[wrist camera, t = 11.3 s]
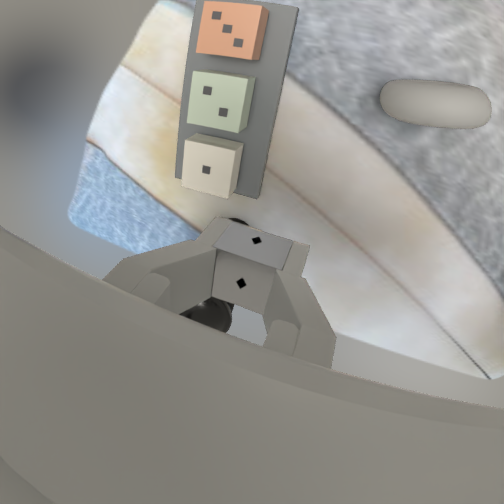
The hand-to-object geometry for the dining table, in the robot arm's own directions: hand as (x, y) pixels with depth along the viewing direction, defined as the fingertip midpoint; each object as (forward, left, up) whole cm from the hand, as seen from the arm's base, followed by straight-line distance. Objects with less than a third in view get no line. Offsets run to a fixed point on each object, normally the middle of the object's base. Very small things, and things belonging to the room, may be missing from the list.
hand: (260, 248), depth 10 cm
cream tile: (+1, +11, -22) cm, 25 cm away
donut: (-3, -11, -24) cm, 26 cm away
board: (+6, +6, -24) cm, 25 cm away
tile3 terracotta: (+11, +1, -22) cm, 25 cm away
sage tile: (+6, +6, -22) cm, 24 cm away
